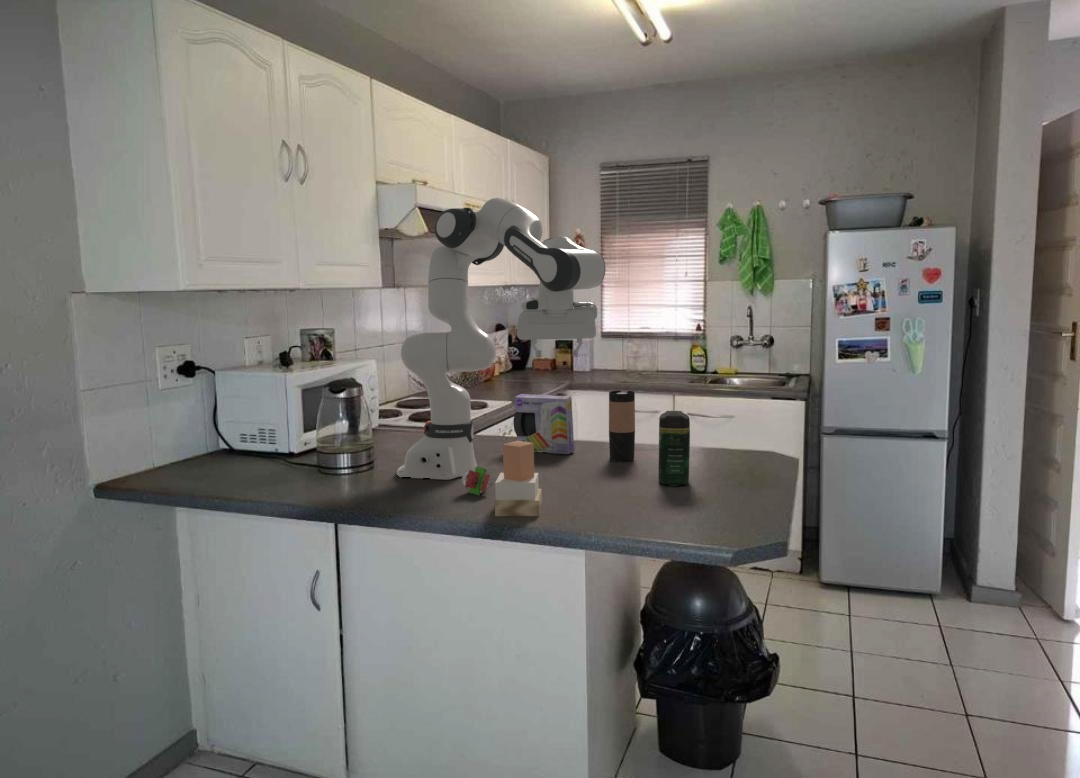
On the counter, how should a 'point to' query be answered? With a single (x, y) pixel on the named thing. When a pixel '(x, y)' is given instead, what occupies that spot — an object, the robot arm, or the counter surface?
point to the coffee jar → (674, 448)
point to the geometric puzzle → (476, 480)
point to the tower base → (519, 507)
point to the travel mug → (621, 425)
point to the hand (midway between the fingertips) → (557, 356)
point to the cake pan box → (545, 422)
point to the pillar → (518, 460)
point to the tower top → (516, 488)
